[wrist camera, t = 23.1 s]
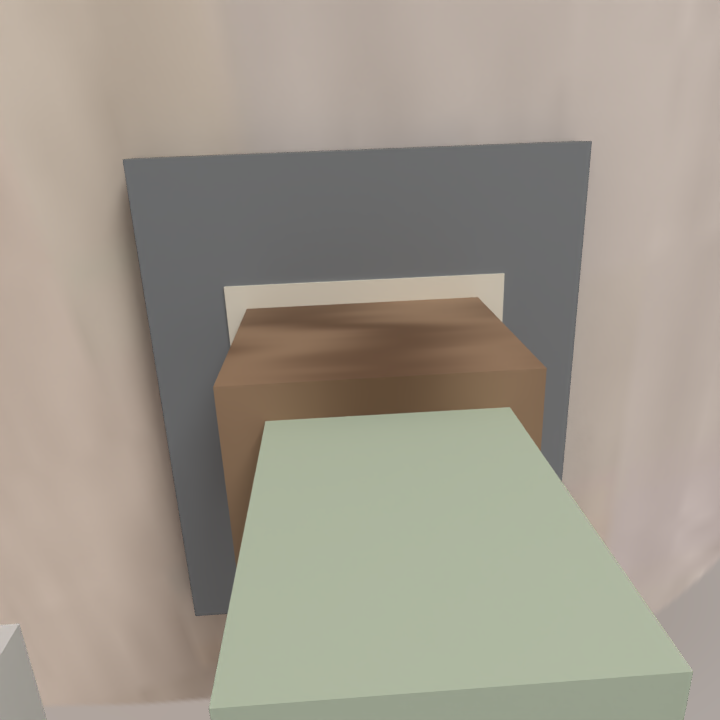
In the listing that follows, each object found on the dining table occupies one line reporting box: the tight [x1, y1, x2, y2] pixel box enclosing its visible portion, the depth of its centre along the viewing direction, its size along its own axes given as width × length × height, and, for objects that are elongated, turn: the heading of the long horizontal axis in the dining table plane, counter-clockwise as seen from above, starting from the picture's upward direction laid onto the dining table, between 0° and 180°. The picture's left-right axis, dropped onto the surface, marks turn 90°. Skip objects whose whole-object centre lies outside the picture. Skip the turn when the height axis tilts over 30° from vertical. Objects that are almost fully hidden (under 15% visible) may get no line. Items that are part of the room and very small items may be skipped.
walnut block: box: [213, 297, 547, 568], centre depth 19 cm, size 8×8×7 cm
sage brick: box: [209, 407, 693, 720], centre depth 12 cm, size 6×6×8 cm
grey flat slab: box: [123, 141, 592, 616], centre depth 23 cm, size 15×18×1 cm
